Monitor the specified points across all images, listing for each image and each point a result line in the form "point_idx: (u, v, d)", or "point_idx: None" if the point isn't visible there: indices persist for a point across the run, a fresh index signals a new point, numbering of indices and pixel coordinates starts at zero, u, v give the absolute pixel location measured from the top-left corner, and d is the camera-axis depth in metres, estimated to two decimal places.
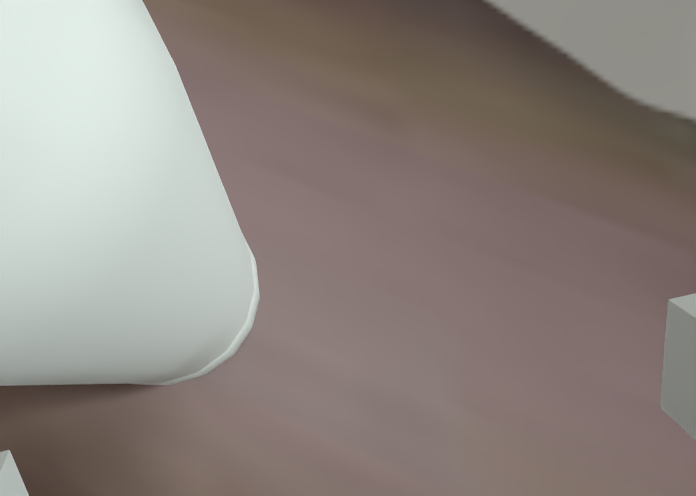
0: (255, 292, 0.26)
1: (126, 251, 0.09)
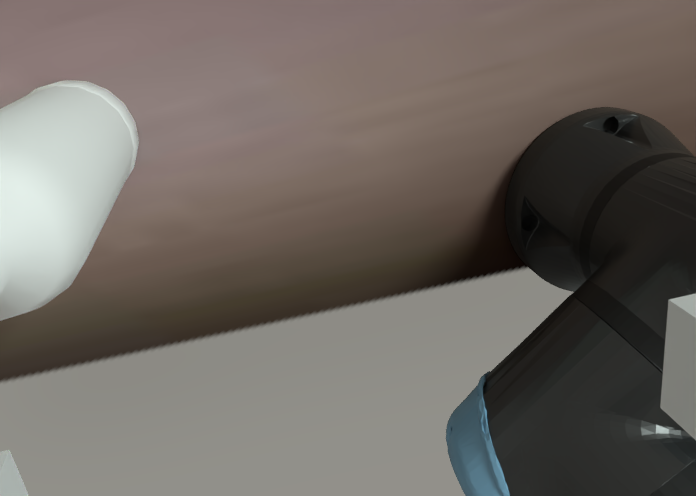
0: (120, 111, 0.41)
1: (81, 217, 0.27)
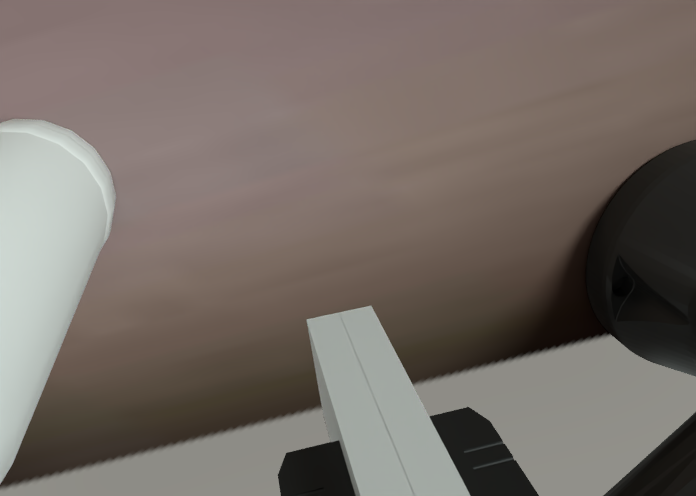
0: (87, 164, 0.30)
1: (0, 402, 0.15)
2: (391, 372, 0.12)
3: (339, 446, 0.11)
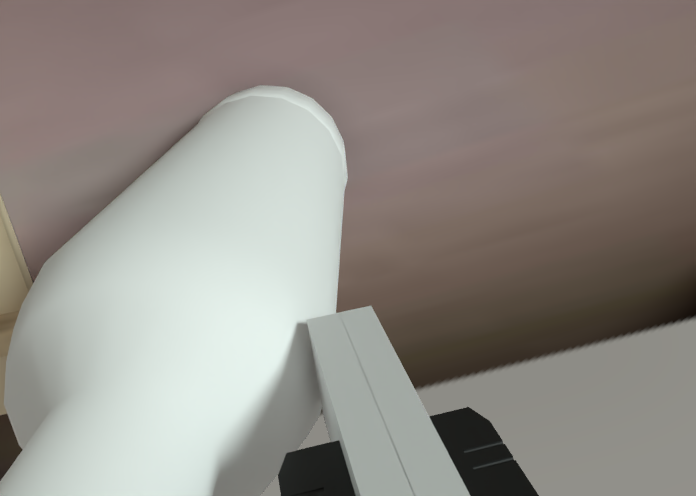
0: (331, 131, 0.30)
1: None
2: (391, 372, 0.12)
3: (339, 446, 0.11)
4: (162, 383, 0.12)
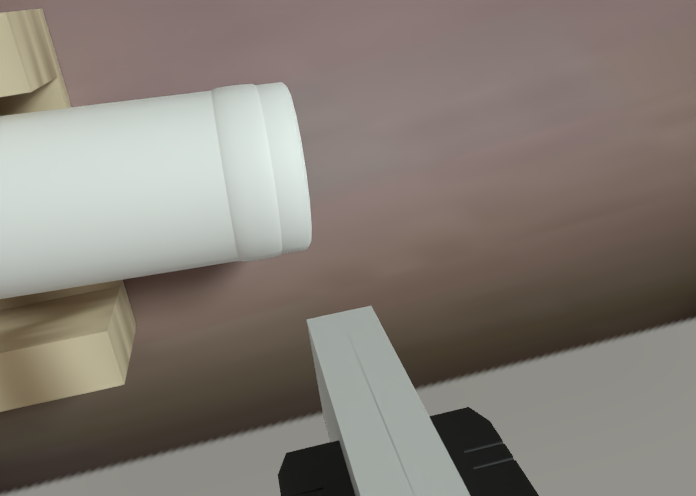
0: (223, 152, 0.26)
1: None
2: (391, 372, 0.12)
3: (339, 446, 0.11)
4: None
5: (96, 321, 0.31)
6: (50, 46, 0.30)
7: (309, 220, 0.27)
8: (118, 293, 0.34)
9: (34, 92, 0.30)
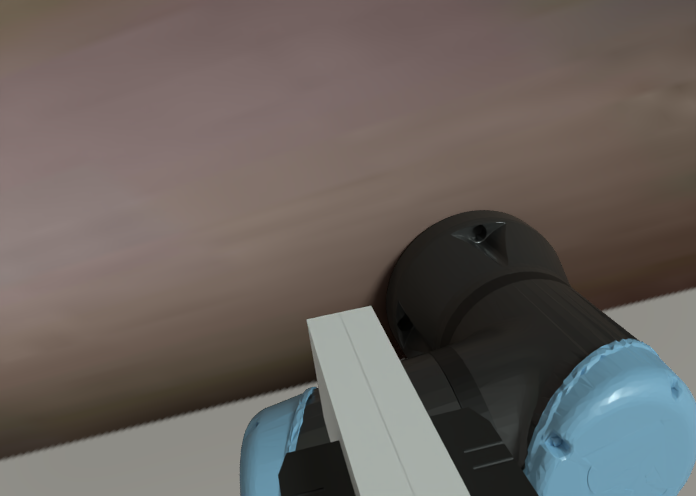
0: None
1: None
2: (391, 372, 0.12)
3: (339, 446, 0.11)
4: None
5: None
6: None
7: None
8: None
9: None
